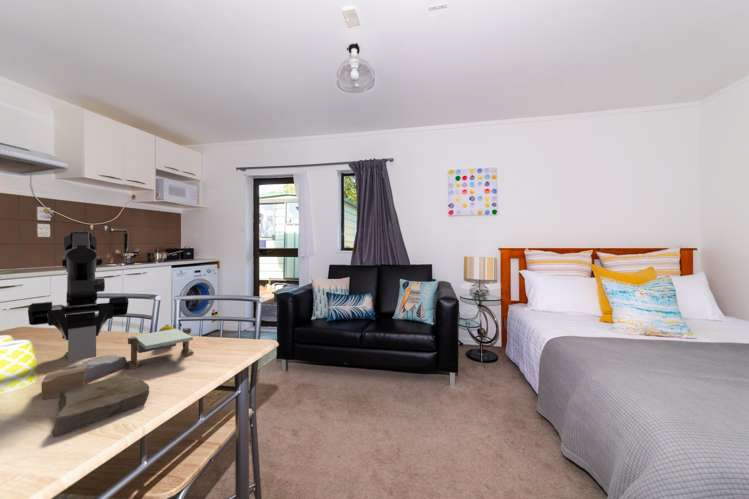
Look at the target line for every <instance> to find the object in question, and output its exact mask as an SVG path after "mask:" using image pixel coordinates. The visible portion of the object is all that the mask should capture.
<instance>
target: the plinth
mask: <svg viewBox="0 0 749 499" xmlns="http://www.w3.org/2000/svg"><path fill="white" fill-rule="evenodd" d="M86 383H87V381H86V367H80V368H74V369H68V370H63V369H61V370H57V371H52V372H47V373H46V375H45V377H43V380H42V381H41V401H43V400H48V399H53V398H60V393H61V392H62V391H63V390H67V389H70V388H74V387H78V386H82V385H86Z"/></svg>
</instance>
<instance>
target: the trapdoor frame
mask: <svg viewBox="0 0 749 499" xmlns="http://www.w3.org/2000/svg"><path fill="white" fill-rule="evenodd" d="M182 332H184V333H186V334H188V335H190V334H191V333H192V328H191V327H183V328H182ZM189 342H190V341H186V342H182V349H180V350H181V352H180V353H181V354H182V355H184V356H186V357H188V356H193V355H194V350H192V349H190V348H189V344H190V343H189ZM127 344H128V345H130V360H127V362H126V365H125V366H126V367H127V368H128V369H129V370H133V369H137V368H139V363H138V352H137V338H136V337H133V336H130V337H127Z"/></svg>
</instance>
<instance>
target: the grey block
mask: <svg viewBox="0 0 749 499" xmlns="http://www.w3.org/2000/svg"><path fill="white" fill-rule="evenodd" d="M67 344H68V345H67V346H68V347H67V352H68V358H67V362H68V363H69V362H73V361H81V360H85V359H87V360H88V359H94V358H97V336H96V326H87V327H79V328H71V329H68V340H67Z"/></svg>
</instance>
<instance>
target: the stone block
mask: <svg viewBox="0 0 749 499" xmlns="http://www.w3.org/2000/svg"><path fill="white" fill-rule="evenodd" d="M127 361H128V360H127V357H126V356H121V355H117V354H107V355H101V356H98V357H97V356H96V357H93V358H90V359H87V360H85V361H83V362H81V363H77V364H72V365H70V366H65V367H63V368H62V370H68V369H74V368H80V367H86V382H90V381H93V380H95V379H97V378H100V377H103V376H105V375H107V374H110V373H112V372H115V371H118V370H121V369H122V368H124V367H125V366H126V362H127Z"/></svg>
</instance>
